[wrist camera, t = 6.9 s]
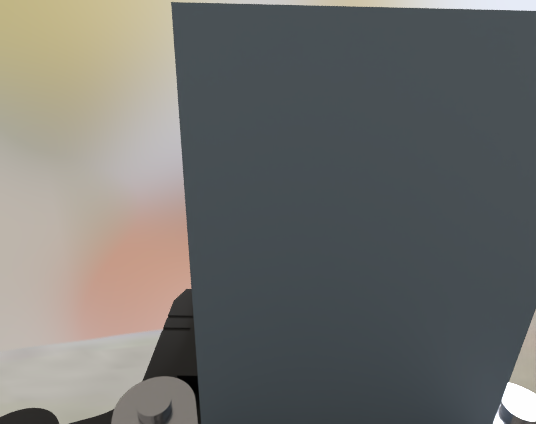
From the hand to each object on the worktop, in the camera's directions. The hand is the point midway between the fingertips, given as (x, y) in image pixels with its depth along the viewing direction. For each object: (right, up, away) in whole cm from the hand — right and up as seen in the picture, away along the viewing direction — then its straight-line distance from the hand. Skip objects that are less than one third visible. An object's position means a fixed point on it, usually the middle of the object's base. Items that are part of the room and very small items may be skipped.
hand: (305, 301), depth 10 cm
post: (0, -8, 0) cm, 8 cm away
